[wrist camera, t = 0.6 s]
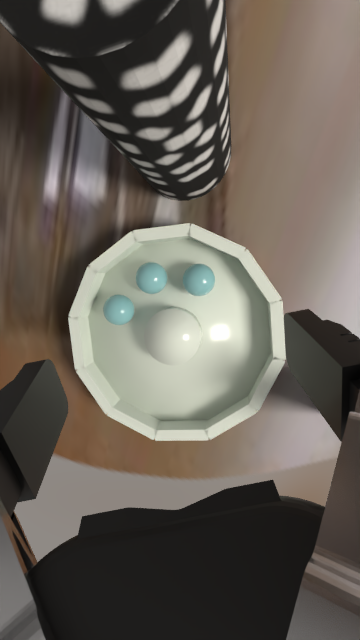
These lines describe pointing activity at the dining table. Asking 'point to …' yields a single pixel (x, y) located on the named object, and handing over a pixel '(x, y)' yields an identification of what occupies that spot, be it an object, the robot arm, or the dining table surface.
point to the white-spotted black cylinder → (141, 79)
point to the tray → (177, 333)
